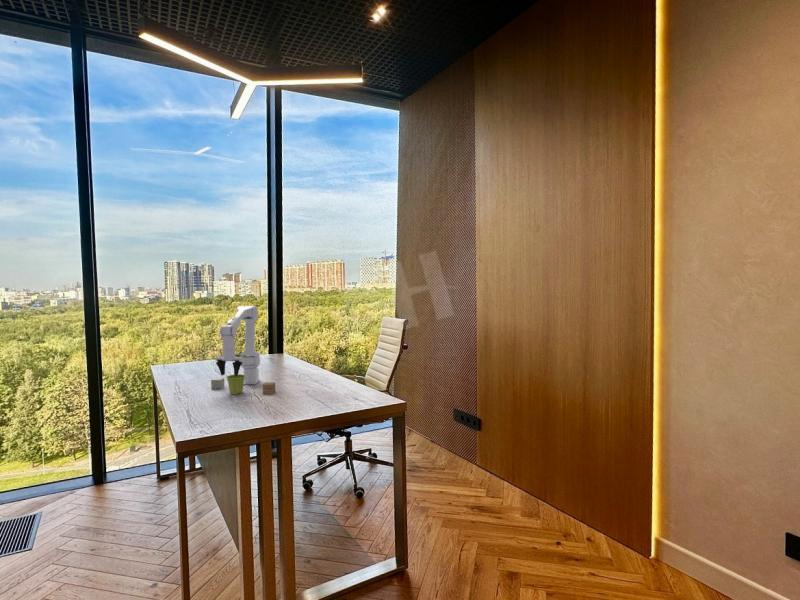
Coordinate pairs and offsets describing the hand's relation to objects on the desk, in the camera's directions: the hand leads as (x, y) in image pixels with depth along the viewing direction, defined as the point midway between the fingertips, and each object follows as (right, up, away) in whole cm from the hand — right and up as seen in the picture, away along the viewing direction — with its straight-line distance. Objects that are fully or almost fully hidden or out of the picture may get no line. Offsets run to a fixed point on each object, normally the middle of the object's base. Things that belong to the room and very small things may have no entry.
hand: (229, 375), depth 230 cm
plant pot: (+2, -10, +5) cm, 11 cm away
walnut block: (+19, -10, +5) cm, 22 cm away
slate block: (-12, -10, +16) cm, 22 cm away
